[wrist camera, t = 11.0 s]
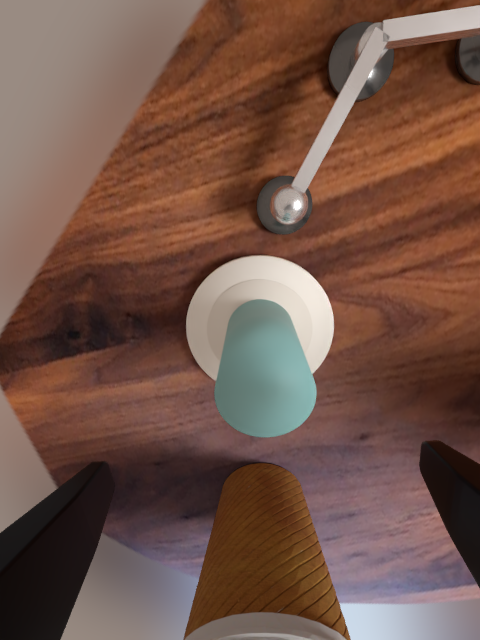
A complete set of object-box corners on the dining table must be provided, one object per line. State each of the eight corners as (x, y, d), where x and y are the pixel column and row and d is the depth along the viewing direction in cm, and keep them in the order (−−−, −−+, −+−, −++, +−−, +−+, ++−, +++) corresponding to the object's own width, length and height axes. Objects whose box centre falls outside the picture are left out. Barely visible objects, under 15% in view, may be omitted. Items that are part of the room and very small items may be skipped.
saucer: (329, 246, 18) (333, 248, 17) (331, 383, 21) (335, 390, 20) (177, 262, 18) (173, 265, 18) (199, 392, 21) (197, 400, 21)
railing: (528, 0, 14) (615, -67, 11) (496, 210, 17) (556, 210, 14) (242, 45, 15) (239, -4, 12) (259, 236, 18) (260, 242, 14)
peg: (295, 357, 19) (318, 433, 13) (231, 363, 20) (221, 440, 13) (291, 295, 18) (314, 344, 11) (223, 302, 18) (207, 354, 12)
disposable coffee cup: (176, 483, 24) (109, 721, 13) (276, 423, 22) (300, 647, 11) (250, 553, 26) (248, 808, 15) (347, 505, 24) (429, 761, 13)
